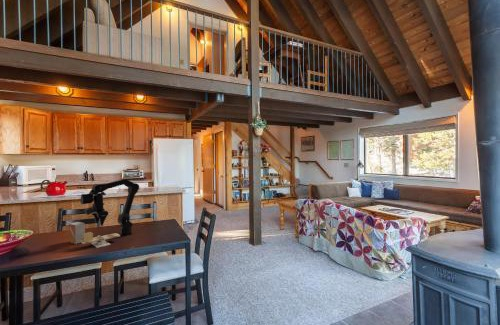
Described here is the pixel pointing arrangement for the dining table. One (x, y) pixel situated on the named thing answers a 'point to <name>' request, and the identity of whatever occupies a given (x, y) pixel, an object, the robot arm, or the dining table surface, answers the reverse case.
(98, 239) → the beam
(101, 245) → the pivot stand
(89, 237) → the wooden block
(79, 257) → the dining table surface
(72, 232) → the small box
